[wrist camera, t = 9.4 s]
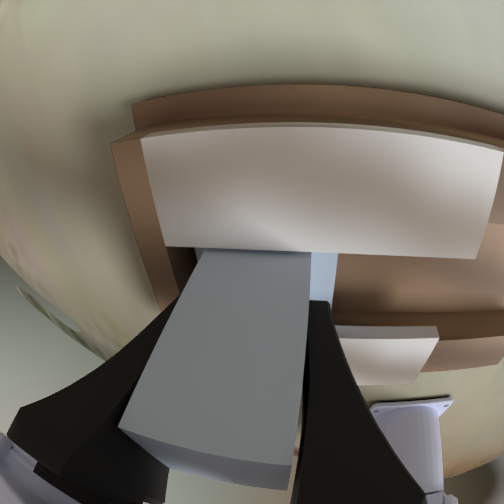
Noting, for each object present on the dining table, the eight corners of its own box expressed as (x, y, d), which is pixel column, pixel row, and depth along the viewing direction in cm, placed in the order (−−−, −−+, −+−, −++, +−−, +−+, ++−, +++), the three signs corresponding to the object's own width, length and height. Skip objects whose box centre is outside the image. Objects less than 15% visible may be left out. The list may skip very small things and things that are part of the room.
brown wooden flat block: (506, 336, 14) (520, 376, 11) (198, 331, 19) (180, 376, 16) (580, 146, 6) (622, 175, 4) (143, 100, 11) (90, 118, 8)
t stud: (329, 303, 14) (317, 496, 7) (216, 296, 15) (152, 466, 8) (339, 195, 11) (358, 453, 3) (196, 193, 12) (61, 390, 5)
